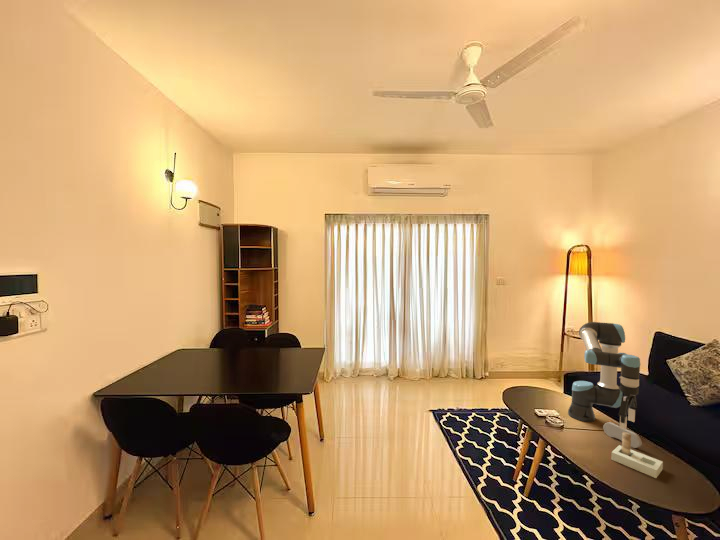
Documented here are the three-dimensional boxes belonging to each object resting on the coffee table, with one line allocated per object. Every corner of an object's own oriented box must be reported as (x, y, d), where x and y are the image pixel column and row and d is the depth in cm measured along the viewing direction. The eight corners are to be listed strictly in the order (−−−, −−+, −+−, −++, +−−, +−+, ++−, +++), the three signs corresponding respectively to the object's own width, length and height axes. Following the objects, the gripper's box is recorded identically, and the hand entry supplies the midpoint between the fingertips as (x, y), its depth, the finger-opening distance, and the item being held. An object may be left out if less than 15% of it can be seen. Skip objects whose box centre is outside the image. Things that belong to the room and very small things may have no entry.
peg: (622, 457, 176) (623, 431, 175) (630, 460, 173) (632, 434, 172) (620, 459, 174) (621, 433, 173) (628, 462, 171) (630, 436, 170)
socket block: (618, 452, 180) (619, 444, 180) (662, 469, 166) (662, 461, 166) (611, 459, 173) (611, 452, 173) (656, 478, 159) (656, 470, 159)
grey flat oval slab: (641, 450, 183) (642, 435, 183) (639, 451, 182) (639, 436, 182) (605, 432, 201) (605, 419, 201) (602, 433, 200) (603, 419, 200)
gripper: (628, 377, 182) (626, 415, 183) (612, 388, 167) (610, 428, 168) (645, 382, 176) (643, 420, 177) (630, 393, 161) (628, 435, 162)
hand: (627, 424), depth 173 cm, fingers open, 13 cm apart
